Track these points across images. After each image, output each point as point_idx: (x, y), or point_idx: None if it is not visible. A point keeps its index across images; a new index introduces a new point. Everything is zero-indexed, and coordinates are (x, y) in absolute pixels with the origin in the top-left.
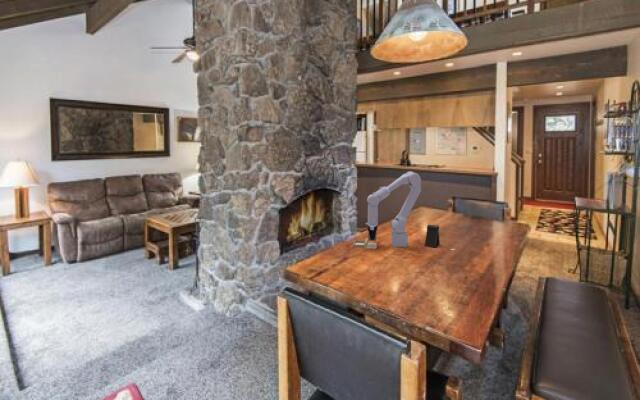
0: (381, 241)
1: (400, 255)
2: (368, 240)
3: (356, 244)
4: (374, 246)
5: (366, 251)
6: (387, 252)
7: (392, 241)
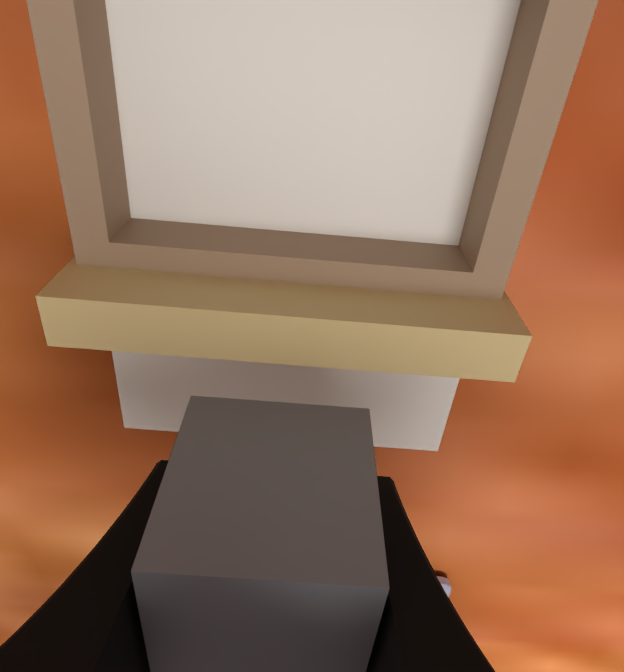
0: (609, 494)
1: (25, 609)
2: (189, 402)
3: (348, 15)
4: None
5: (12, 257)
6: (83, 522)
7: None
